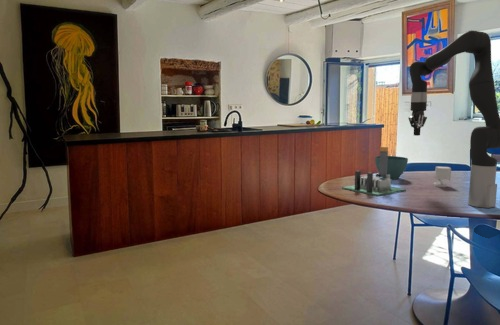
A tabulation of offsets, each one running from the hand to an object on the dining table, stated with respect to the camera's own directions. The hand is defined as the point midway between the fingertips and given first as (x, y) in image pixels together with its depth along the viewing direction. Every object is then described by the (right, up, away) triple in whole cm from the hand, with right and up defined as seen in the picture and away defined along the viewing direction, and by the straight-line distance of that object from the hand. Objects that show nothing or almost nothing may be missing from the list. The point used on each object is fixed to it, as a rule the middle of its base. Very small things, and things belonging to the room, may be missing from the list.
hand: (416, 135), depth 203 cm
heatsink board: (-23, -28, -4) cm, 36 cm away
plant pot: (-3, -24, +29) cm, 38 cm away
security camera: (+16, -27, +6) cm, 31 cm away
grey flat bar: (-18, -21, -1) cm, 28 cm away
